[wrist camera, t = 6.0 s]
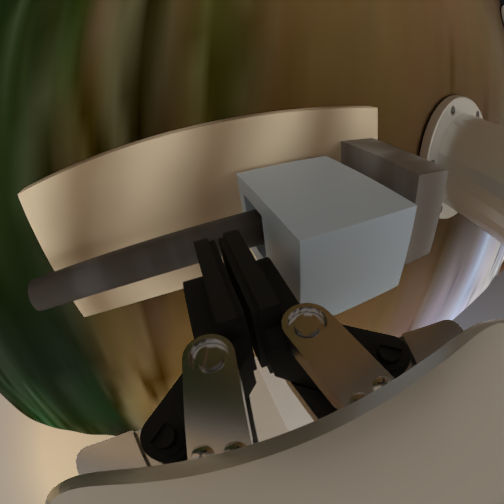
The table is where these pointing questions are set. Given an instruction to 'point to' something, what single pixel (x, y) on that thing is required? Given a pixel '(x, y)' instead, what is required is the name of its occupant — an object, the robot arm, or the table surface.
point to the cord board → (197, 200)
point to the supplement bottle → (503, 12)
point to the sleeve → (329, 230)
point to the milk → (275, 405)
